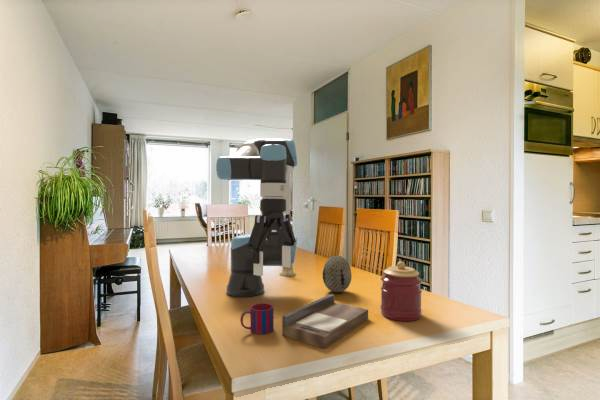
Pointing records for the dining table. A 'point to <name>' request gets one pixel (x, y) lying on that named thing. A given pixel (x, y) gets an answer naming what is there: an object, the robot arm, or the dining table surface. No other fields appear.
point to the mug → (260, 318)
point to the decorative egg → (337, 274)
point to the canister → (401, 293)
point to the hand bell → (287, 271)
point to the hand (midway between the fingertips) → (273, 271)
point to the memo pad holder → (322, 321)
